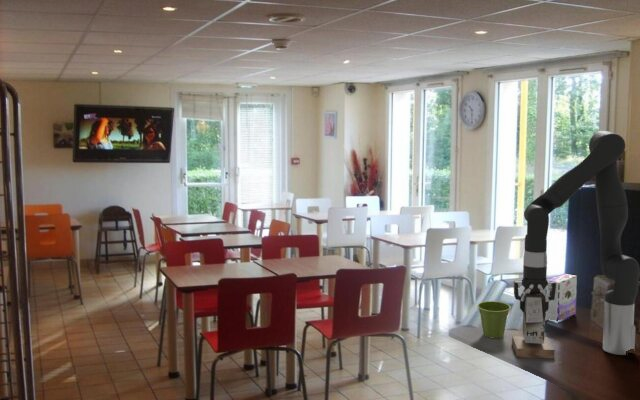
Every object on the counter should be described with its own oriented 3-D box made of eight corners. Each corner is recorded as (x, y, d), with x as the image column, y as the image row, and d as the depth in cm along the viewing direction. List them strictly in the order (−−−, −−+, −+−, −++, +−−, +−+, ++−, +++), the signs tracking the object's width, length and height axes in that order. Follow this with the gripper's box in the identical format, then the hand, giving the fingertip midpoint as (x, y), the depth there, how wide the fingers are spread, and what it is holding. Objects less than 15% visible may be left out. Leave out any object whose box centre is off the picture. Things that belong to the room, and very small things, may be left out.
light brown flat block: (547, 345, 233) (547, 337, 232) (554, 358, 221) (554, 349, 221) (512, 344, 235) (512, 336, 234) (517, 357, 223) (517, 348, 222)
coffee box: (544, 344, 222) (546, 297, 220) (524, 343, 223) (525, 296, 221) (541, 334, 231) (542, 289, 229) (522, 333, 232) (523, 289, 230)
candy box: (562, 312, 268) (564, 272, 266) (576, 315, 264) (577, 275, 261) (544, 320, 259) (545, 279, 257) (557, 323, 255) (559, 282, 252)
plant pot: (470, 334, 246) (470, 305, 244) (492, 327, 252) (492, 299, 250) (494, 343, 236) (495, 313, 234) (517, 336, 242) (517, 306, 240)
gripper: (554, 261, 226) (553, 308, 228) (511, 260, 228) (510, 307, 230) (559, 266, 219) (558, 315, 221) (514, 266, 221) (513, 314, 223)
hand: (533, 311), depth 226 cm, fingers closed on coffee box, 6 cm apart
